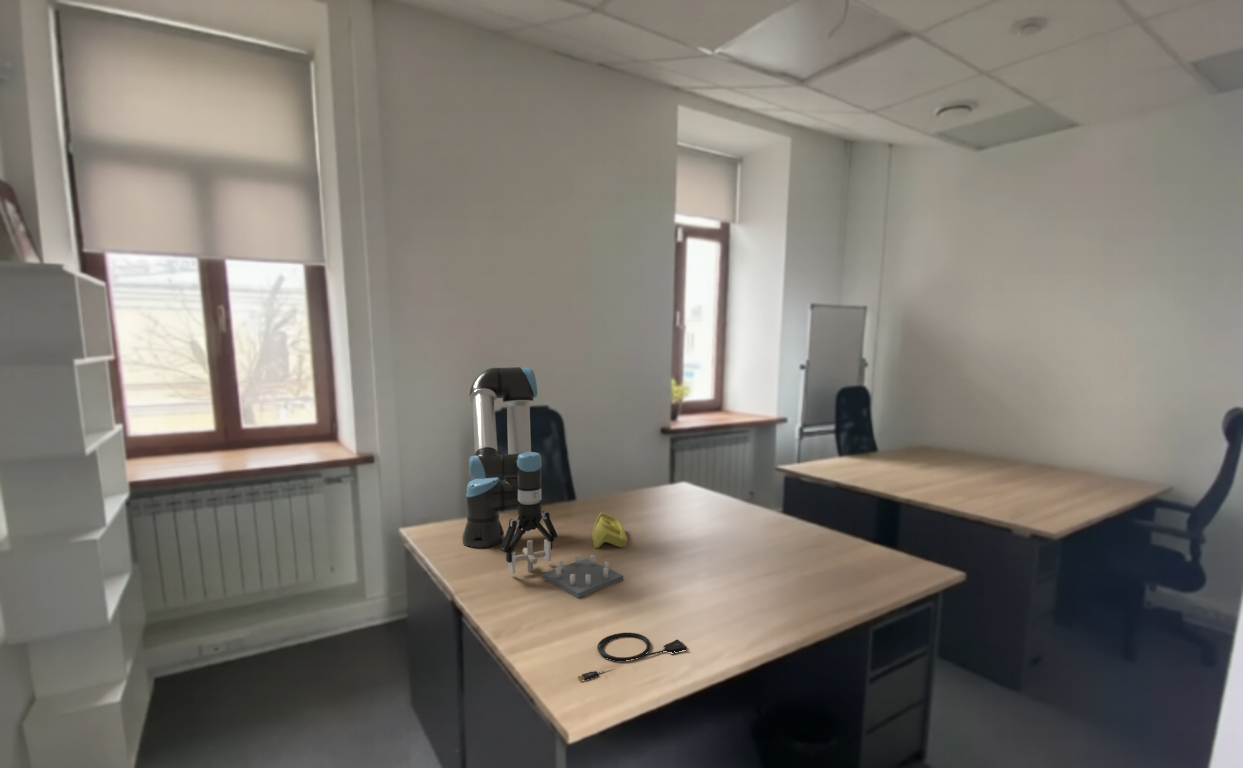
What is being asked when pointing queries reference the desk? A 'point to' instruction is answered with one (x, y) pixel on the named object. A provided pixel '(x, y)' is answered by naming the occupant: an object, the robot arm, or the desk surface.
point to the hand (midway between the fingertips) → (530, 565)
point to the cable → (669, 647)
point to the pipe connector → (530, 555)
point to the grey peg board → (582, 576)
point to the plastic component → (608, 531)
